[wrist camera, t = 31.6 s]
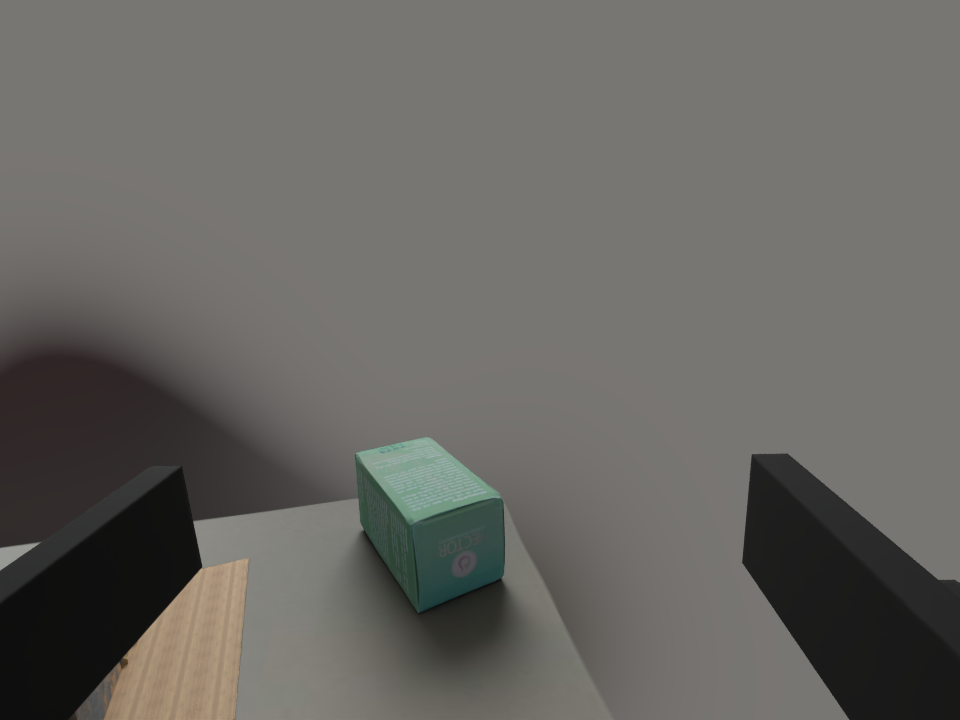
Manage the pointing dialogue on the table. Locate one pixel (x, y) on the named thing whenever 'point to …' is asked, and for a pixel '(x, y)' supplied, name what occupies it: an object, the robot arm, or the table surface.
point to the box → (430, 520)
